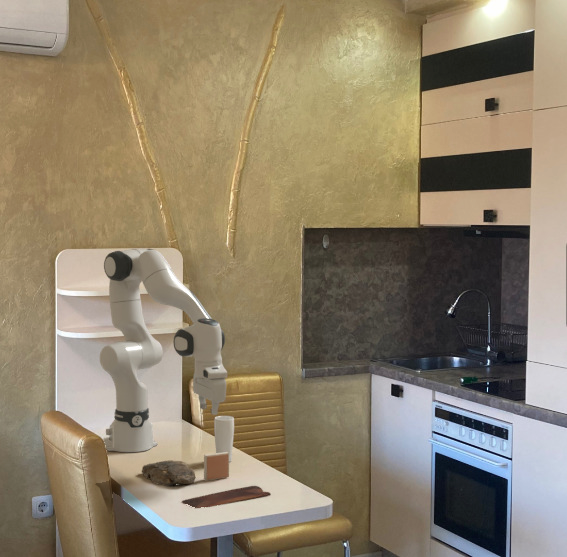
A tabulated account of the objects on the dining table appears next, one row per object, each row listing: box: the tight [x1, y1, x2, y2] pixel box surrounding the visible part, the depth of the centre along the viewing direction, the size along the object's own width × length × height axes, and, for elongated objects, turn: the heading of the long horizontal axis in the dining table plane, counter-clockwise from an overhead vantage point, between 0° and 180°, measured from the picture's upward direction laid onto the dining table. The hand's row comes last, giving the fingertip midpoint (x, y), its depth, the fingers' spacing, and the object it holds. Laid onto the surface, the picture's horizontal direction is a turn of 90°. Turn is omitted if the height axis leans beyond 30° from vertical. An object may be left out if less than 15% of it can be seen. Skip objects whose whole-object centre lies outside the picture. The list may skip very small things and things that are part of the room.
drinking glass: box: [213, 415, 235, 463], centre depth 298 cm, size 7×7×15 cm
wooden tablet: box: [181, 485, 271, 509], centre depth 260 cm, size 26×2×10 cm
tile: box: [203, 452, 230, 481], centre depth 278 cm, size 2×8×8 cm, turn 117°
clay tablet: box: [141, 460, 196, 486], centre depth 277 cm, size 14×5×20 cm
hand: (208, 411), depth 282 cm, fingers open, 8 cm apart
